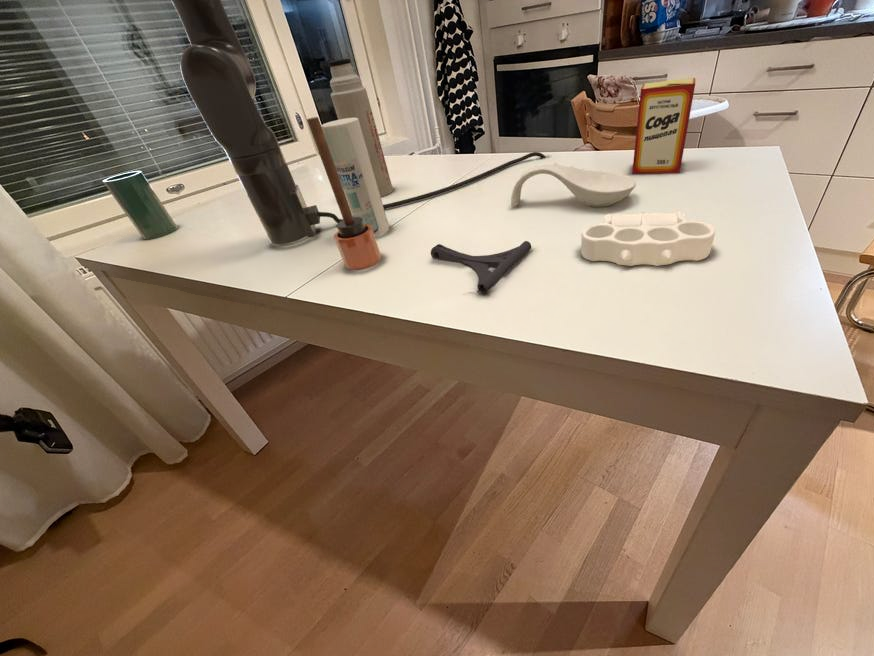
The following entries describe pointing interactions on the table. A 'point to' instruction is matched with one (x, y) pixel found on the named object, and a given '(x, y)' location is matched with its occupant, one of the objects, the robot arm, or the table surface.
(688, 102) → the baking soda box
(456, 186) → the robot arm
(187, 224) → the table surface
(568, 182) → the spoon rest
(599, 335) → the table surface
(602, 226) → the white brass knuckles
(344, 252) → the holder
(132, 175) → the cup
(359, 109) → the thermos bottle
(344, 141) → the spray can
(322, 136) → the long wooden handle
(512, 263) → the bracket
